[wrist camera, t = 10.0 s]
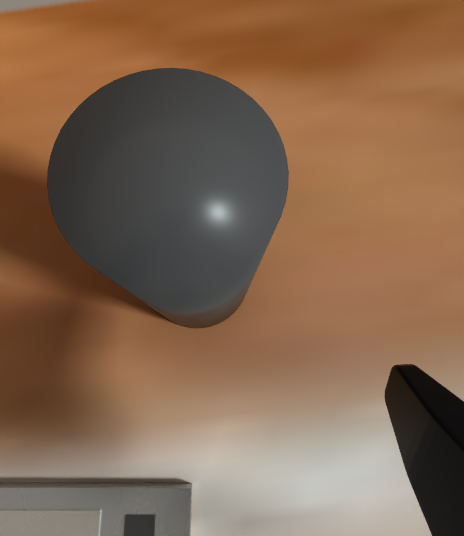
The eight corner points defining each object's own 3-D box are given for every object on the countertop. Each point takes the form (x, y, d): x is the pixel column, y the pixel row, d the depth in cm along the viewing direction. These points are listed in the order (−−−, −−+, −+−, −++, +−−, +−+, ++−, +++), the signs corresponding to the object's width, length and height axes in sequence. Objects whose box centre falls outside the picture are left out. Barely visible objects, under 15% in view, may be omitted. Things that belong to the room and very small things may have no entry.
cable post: (216, 347, 18) (212, 337, 7) (127, 295, 18) (-3, 212, 7) (266, 259, 19) (329, 134, 8) (180, 212, 19) (132, 32, 8)
